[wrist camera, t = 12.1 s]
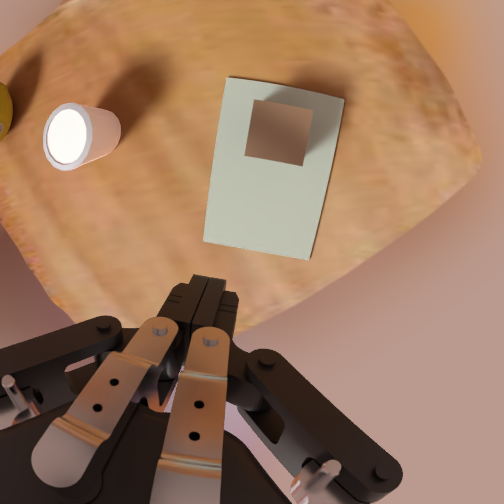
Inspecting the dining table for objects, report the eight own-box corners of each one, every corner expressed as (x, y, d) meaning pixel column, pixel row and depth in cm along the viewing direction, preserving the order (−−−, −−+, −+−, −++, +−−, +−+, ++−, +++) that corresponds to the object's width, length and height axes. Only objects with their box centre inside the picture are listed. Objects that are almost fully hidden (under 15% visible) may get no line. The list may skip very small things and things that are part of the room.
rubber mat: (227, 77, 26) (226, 77, 26) (343, 99, 26) (344, 99, 26) (203, 240, 33) (203, 241, 33) (308, 259, 33) (308, 260, 33)
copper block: (244, 155, 24) (249, 152, 29) (302, 166, 24) (297, 161, 29) (254, 99, 22) (257, 104, 27) (313, 110, 22) (306, 114, 27)
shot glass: (121, 96, 27) (87, 92, 21) (130, 153, 30) (97, 161, 23) (75, 115, 28) (38, 116, 21) (84, 167, 31) (48, 178, 24)
